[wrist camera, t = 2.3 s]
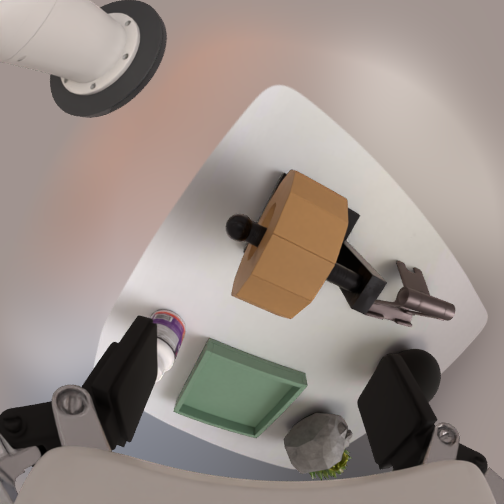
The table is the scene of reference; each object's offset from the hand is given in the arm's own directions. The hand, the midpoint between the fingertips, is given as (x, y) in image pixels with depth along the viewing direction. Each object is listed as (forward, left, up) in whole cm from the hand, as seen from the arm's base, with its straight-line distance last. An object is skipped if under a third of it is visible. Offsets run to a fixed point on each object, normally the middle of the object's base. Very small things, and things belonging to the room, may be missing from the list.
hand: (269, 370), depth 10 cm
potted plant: (+27, -28, -23) cm, 45 cm away
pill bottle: (-6, -18, -23) cm, 30 cm away
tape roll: (+1, +2, -13) cm, 13 cm away
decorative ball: (+30, -9, -23) cm, 39 cm away
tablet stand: (+20, +1, -23) cm, 30 cm away
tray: (+8, -25, -23) cm, 35 cm away
